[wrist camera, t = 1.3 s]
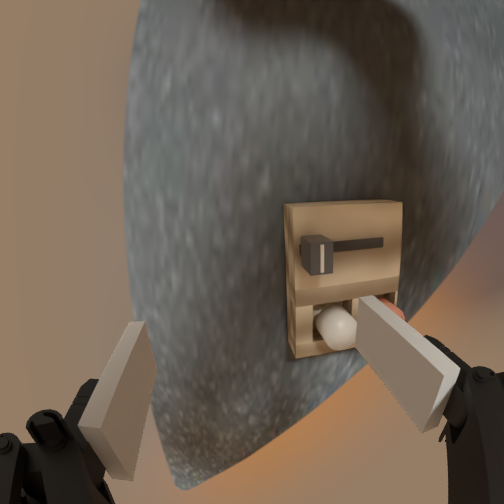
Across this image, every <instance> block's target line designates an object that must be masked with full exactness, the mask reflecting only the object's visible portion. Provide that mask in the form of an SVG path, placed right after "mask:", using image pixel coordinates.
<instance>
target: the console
mask: <svg viewBox="0 0 504 504" xmlns="http://www.w3.org/2000/svg"><path fill="white" fill-rule="evenodd" d="M283 212H284V233H285V256H286V285H287V323H288V342H289V344H290V346H291V349H292V351H293V353H294V355H295V358H302V357H308V356H314V355H319V354H325V353H330V352H335V351H340V350H333V349H331V348H330V347H329V346H328V345H327V343H326V342H325V340H324V339H323V337H322V336H321V334H320V333H319V331H318V330H317V327H316V319H317V316H318V314H319V313H320V312H321V311H322V310H323V309H324V308H325V307H327V306H330V305H340V306H342V307H343V308H344V309H345V310H346V311H347V312H348V313H349V314H350V315H351V316H352V317H353V318H354V319H355V320H356V322H357V316H358V302H359V297H364V296H370V295H373V296H374V297H376V298H377V297H383V298H386V299H387V300H388V301H390V302H391V303H392V304H393V305H395V306H396V303H397V294H398V284H399V273H400V260H401V243H402V202H397V201H391V200H386V199H370V200H342V201H321V202H302V203H286V204H283ZM309 235H323V236H325V237H327V238H328V239H330V240H332V241H333V273H332V274H324V275H315V276H310V275H309V273H308V272H307V271H306V270H305V269H304V268H303V267H302V266H301V236H309ZM350 348H355V342H354V343H353V344H352V345H351V346H350V347H348V348H346V349H350ZM343 350H345V349H343Z"/></svg>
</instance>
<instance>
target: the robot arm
mask: <svg viewBox="0 0 504 504" xmlns="http://www.w3.org/2000/svg"><path fill="white" fill-rule="evenodd" d="M355 348H356V349H357V350H358V351H359V353H360V354H361V355H362V356H363V358H364V359H365V360H366V361H367V363H368V364H369V365H370V366H371V368H372V369H373V370H374V372H375V373H376V374H377V375H378V377H379V378H380V379H381V381H382V382H383V383H384V385H385V386H386V387H387V388H388V390H389V391H390V392H391V394H392V395H393V396H394V397H395V399H396V400H397V401H398V403H399V404H400V405H401V407H402V408H403V409H404V411H405V412H406V413H407V414H408V416H409V417H410V418H411V420H412V421H413V422H414V424H415V425H416V426H417V428H418V429H419V430H420V432H421V433H424V432H426V431H428V430H431V429H433V428H435V427H437V426H438V424H439V422H440V420H441V418H442V415H444V416H445V418H446V419H447V420H448V421H447V423H446V425H445V427H444V429H443V431H442V433H441V435H440V437H439V442H441V441H442V439H443V437H444V435H446V440H445V442H446V446H447V460H448V504H504V372H501V373H495V372H494V371H492V370H491V369H489V368H486V367H482V366H478V367H473V368H471V367H470V366H469V365H468V364H466V363H465V362H464V361H463V360H461V359H460V358H459V357H458V356H457V355H455V354H454V353H453V352H451V351H450V350H449V349H448V348H447V347H445V346H444V345H443V344H442V343H441V342H439V341H438V340H437V339H435V338H433V337H430V336H428V335H426V336H422V335H421V334H420V333H418V332H417V331H416V330H415V329H414V328H413V327H411V326H410V325H409V324H408V323H407V322H405V321H404V320H403V319H402V318H400V317H399V316H398V315H397V314H395V313H394V312H393V311H392V310H391V309H389V308H388V307H387V306H386V305H384V304H383V303H382V302H381V301H379V300H378V299H377V298H376V297H374V296H373V295H370V296H364V297H359V302H358V316H357V327H356V338H355ZM157 371H158V370H157V367H156V363H155V359H154V356H153V352H152V348H151V344H150V340H149V336H148V332H147V328H146V324H145V321H141V322H129V324H128V325H127V328H126V329H125V331H124V333H123V335H122V336H121V338H120V340H119V342H118V344H117V346H116V348H115V350H114V352H113V353H112V356H111V357H110V359H109V361H108V363H107V365H106V367H105V369H104V371H103V373H102V375H101V377H100V379H89V380H88V381H87V382H86V383H85V384H83V385H82V386H81V388H80V389H79V391H78V393H77V395H76V397H75V399H74V401H73V404H72V405H71V406H70V408H69V410H68V412H67V414H66V416H65V418H64V419H63V418H62V415H61V414H60V413H59V412H57V411H55V410H50V409H49V410H42V411H39V412H37V413H35V414H34V415H32V416H31V417H30V418H29V420H28V421H27V424H26V429H27V430H28V432H29V433H30V435H31V436H32V438H33V439H34V441H35V442H36V443H25V444H24V443H23V444H22V443H21V441H20V440H19V439H18V437H17V436H15V435H14V434H12V433H2V434H0V504H115V502H114V500H113V497H112V495H111V493H110V490H109V488H108V485H107V484H106V482H105V481H104V479H103V477H104V473H105V470H107V472H108V474H109V475H110V476H111V478H112V479H119V480H128V481H133V477H134V473H135V467H136V462H137V457H138V453H139V448H140V443H141V438H142V433H143V429H144V425H145V420H146V416H147V411H148V407H149V403H150V399H151V395H152V391H153V387H154V383H155V379H156V375H157ZM21 492H22V493H21Z"/></svg>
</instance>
